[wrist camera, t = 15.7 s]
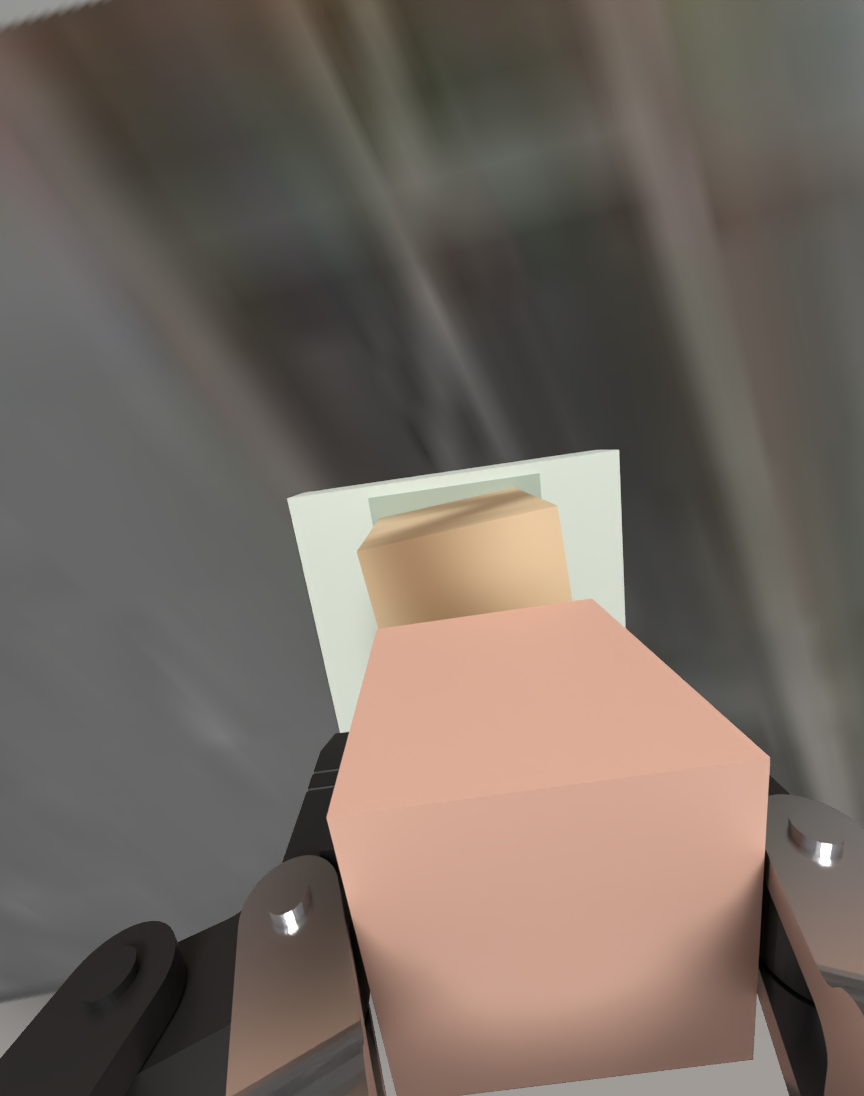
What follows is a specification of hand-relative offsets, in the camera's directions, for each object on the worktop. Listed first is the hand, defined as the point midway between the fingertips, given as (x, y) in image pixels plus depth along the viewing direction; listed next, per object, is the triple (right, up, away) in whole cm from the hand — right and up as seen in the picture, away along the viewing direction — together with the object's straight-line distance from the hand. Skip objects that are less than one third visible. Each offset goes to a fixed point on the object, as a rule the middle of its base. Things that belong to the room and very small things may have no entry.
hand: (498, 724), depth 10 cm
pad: (0, +2, +8) cm, 9 cm away
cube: (0, 0, +1) cm, 1 cm away
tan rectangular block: (0, +1, +6) cm, 6 cm away
